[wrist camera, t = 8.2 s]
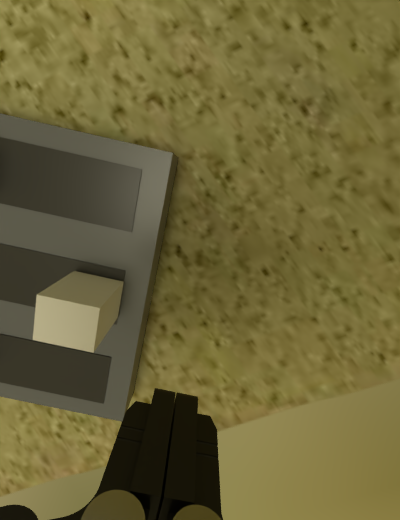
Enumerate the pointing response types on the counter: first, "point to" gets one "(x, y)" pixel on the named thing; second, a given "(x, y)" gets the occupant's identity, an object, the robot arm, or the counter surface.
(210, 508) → the robot arm
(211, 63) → the counter surface
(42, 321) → the block
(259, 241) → the counter surface
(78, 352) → the breaker panel
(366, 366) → the counter surface
